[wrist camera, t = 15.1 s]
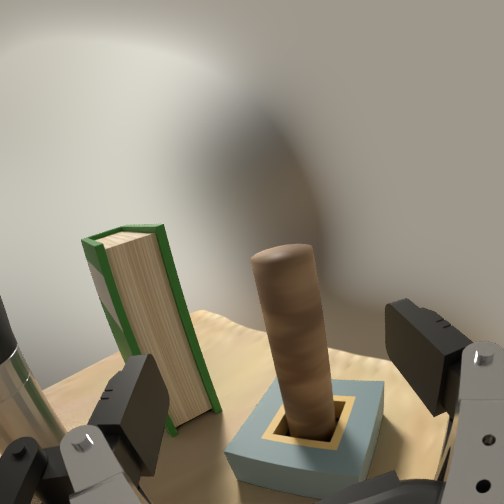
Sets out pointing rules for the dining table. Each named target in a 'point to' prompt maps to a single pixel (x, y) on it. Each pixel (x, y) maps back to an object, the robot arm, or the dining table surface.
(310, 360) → the peg
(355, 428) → the socket block
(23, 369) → the robot arm
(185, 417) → the hardback book
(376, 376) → the dining table surface
